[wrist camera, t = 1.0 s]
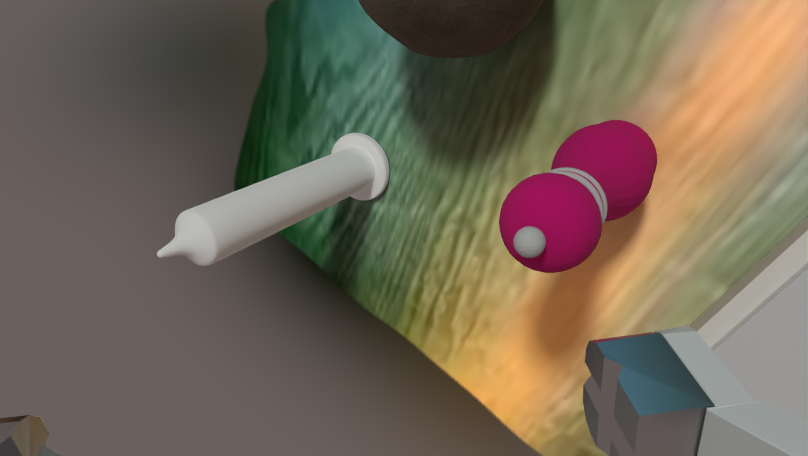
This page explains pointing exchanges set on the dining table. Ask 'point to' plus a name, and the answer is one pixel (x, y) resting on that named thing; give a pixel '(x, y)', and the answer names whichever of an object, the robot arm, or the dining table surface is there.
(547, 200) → the pepper mill
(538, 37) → the dining table surface
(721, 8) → the dining table surface
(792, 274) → the kitchen scale
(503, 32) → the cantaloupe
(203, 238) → the candle
